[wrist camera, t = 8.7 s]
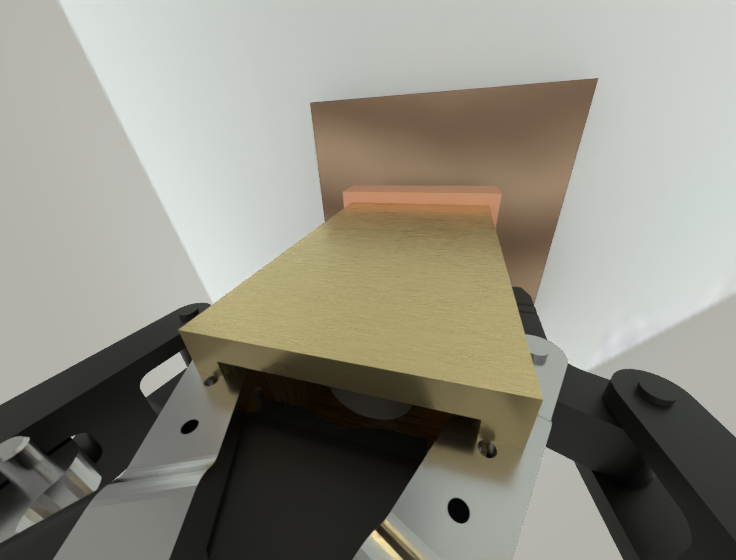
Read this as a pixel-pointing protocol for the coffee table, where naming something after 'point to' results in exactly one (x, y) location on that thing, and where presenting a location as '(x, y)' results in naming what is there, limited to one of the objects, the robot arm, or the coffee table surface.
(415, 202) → the orange square ring
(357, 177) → the post stand
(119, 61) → the coffee table surface
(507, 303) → the sleeve
